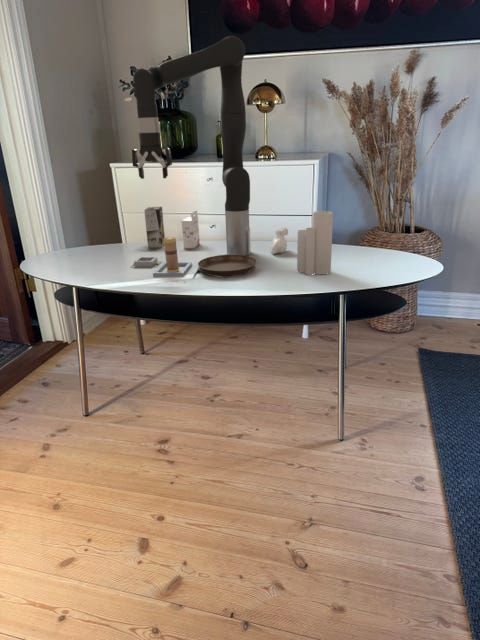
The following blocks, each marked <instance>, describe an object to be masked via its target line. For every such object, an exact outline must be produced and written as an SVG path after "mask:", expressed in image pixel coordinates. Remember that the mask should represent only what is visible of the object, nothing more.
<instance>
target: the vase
mask: <svg viewBox="0 0 480 640" xmlns="http://www.w3.org/2000/svg"><path fill="white" fill-rule="evenodd" d="M333 219H334V212H333V211H328V210H319V211H313V212H312V227H307V228H306V229H299V230H297V241H296V242H297V248H296V249H297V251H296V252H297V255H296V256H297V257H296V259H297V260H296V272H297V271H298V272H297V273H299V272H302V273H301V274H305V275H306V274H307V275H306V276H313V275H312V274H314V273H315V274H314V275H316V274H327V273H330V272H332V248H333V221H334V220H333ZM330 274H331V273H330ZM327 275H328V274H327Z"/></svg>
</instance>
